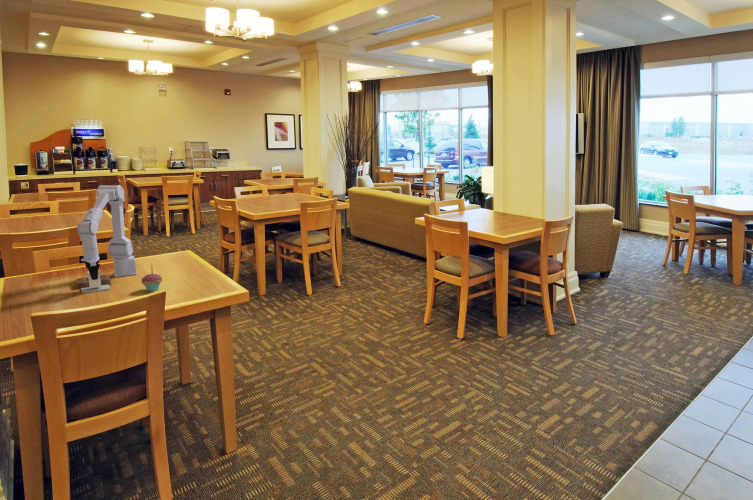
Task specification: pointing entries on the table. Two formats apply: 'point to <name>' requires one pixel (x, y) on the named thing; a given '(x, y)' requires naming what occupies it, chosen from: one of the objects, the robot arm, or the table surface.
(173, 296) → the table surface
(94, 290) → the grey mat
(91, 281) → the cream block
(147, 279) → the cupcake
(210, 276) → the table surface
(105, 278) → the pocket board
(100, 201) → the robot arm
